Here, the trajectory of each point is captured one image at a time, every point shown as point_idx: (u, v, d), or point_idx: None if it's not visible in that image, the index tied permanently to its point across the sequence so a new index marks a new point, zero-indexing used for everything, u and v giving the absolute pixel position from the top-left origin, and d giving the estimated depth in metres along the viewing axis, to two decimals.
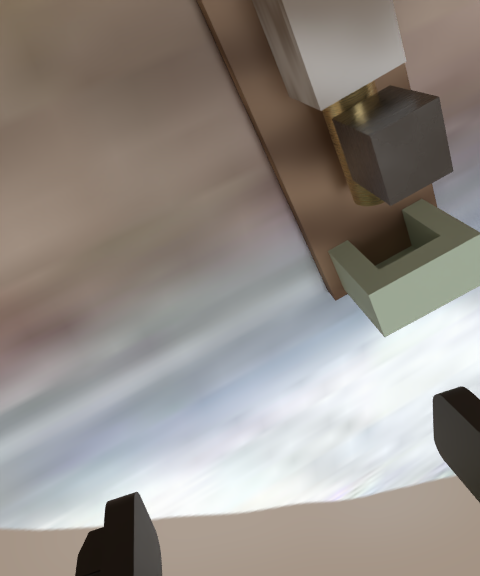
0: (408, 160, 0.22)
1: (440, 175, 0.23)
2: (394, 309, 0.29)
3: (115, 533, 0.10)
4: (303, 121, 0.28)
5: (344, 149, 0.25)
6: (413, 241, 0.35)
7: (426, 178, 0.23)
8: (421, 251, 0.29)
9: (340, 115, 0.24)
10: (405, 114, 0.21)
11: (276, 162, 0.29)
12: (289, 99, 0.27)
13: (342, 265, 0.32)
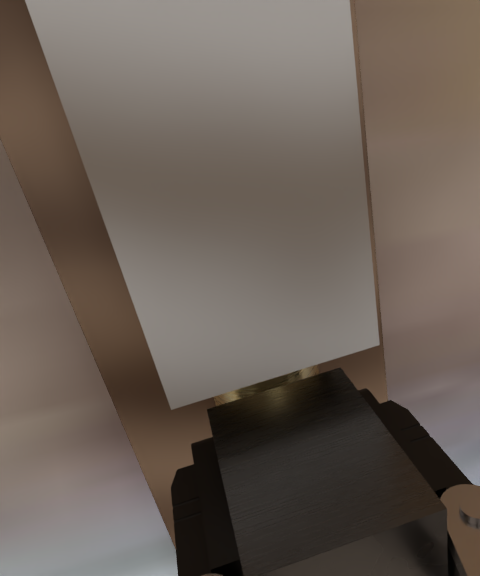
0: None
1: None
2: None
3: (205, 467, 0.11)
4: None
5: None
6: None
7: None
8: None
9: (225, 408, 0.11)
10: (353, 537, 0.07)
11: (121, 410, 0.15)
12: None
13: None
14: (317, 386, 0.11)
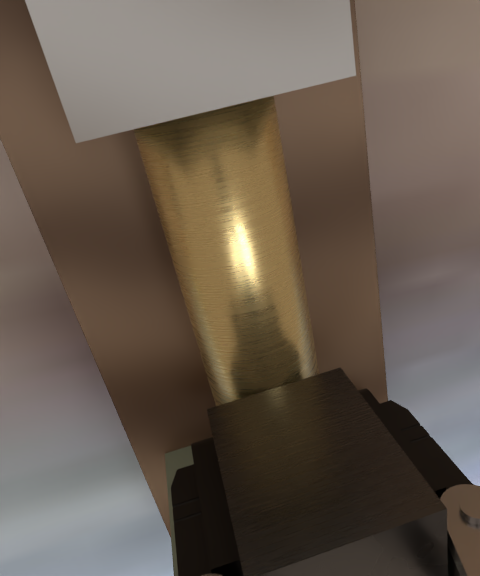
0: None
1: None
2: None
3: (205, 467, 0.11)
4: (130, 188, 0.13)
5: None
6: None
7: None
8: None
9: (225, 408, 0.11)
10: (353, 537, 0.07)
11: (58, 260, 0.13)
12: None
13: (171, 507, 0.14)
14: (317, 386, 0.11)
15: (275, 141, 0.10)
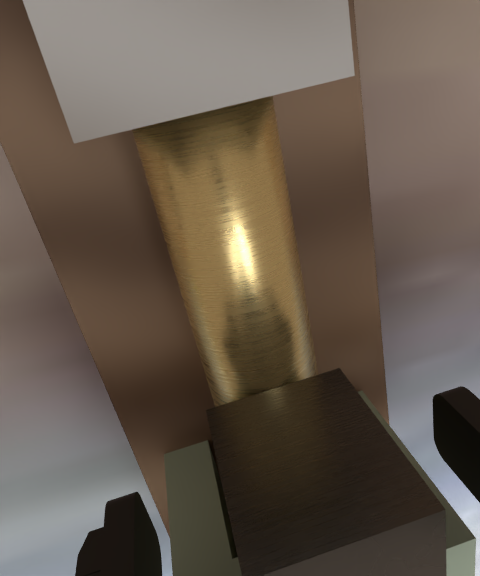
0: None
1: None
2: None
3: (115, 533, 0.10)
4: (129, 188, 0.13)
5: None
6: None
7: None
8: None
9: (225, 409, 0.11)
10: (352, 538, 0.07)
11: (57, 260, 0.13)
12: None
13: (170, 507, 0.14)
14: (316, 387, 0.11)
15: (274, 142, 0.10)
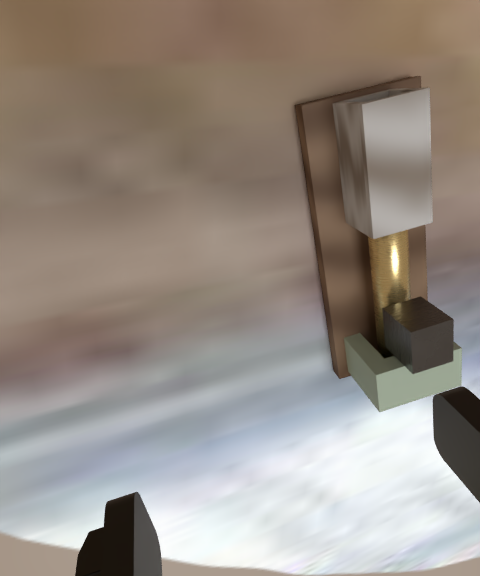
0: (429, 350, 0.35)
1: (445, 362, 0.36)
2: (391, 391, 0.38)
3: (115, 533, 0.10)
4: (350, 240, 0.39)
5: (385, 327, 0.38)
6: None
7: (436, 362, 0.36)
8: None
9: (388, 307, 0.38)
10: (433, 324, 0.34)
11: (325, 264, 0.40)
12: (345, 224, 0.39)
13: (355, 350, 0.41)
14: (414, 301, 0.38)
15: (407, 233, 0.36)
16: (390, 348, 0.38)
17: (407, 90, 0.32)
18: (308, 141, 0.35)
